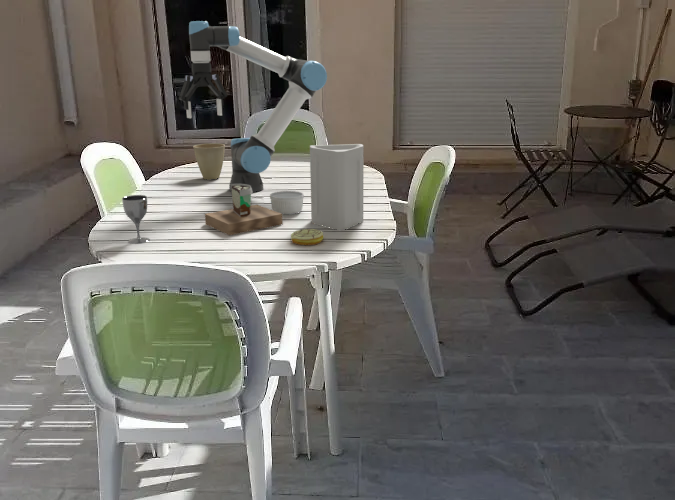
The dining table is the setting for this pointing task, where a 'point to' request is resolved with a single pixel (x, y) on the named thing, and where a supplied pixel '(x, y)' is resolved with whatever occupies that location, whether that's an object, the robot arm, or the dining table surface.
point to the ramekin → (287, 202)
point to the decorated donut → (307, 236)
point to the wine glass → (136, 213)
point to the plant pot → (210, 159)
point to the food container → (241, 199)
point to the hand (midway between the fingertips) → (204, 116)
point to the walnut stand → (243, 220)
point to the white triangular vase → (337, 185)
